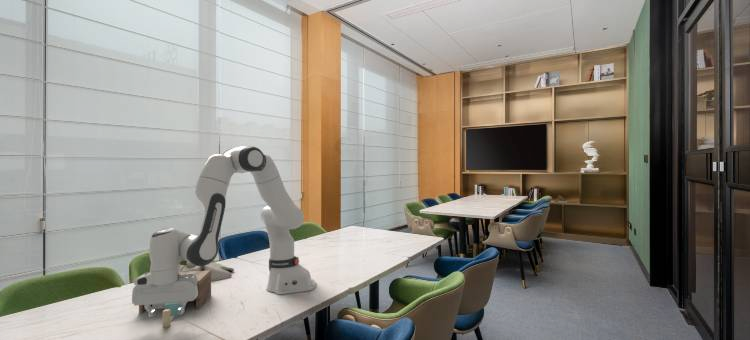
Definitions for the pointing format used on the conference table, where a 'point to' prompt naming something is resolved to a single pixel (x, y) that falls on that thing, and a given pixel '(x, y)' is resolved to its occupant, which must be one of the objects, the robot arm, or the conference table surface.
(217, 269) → the mask
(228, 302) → the conference table surface
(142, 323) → the conference table surface
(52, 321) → the conference table surface
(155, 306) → the plain block
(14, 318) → the conference table surface
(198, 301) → the walnut shelf
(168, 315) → the tethered block
